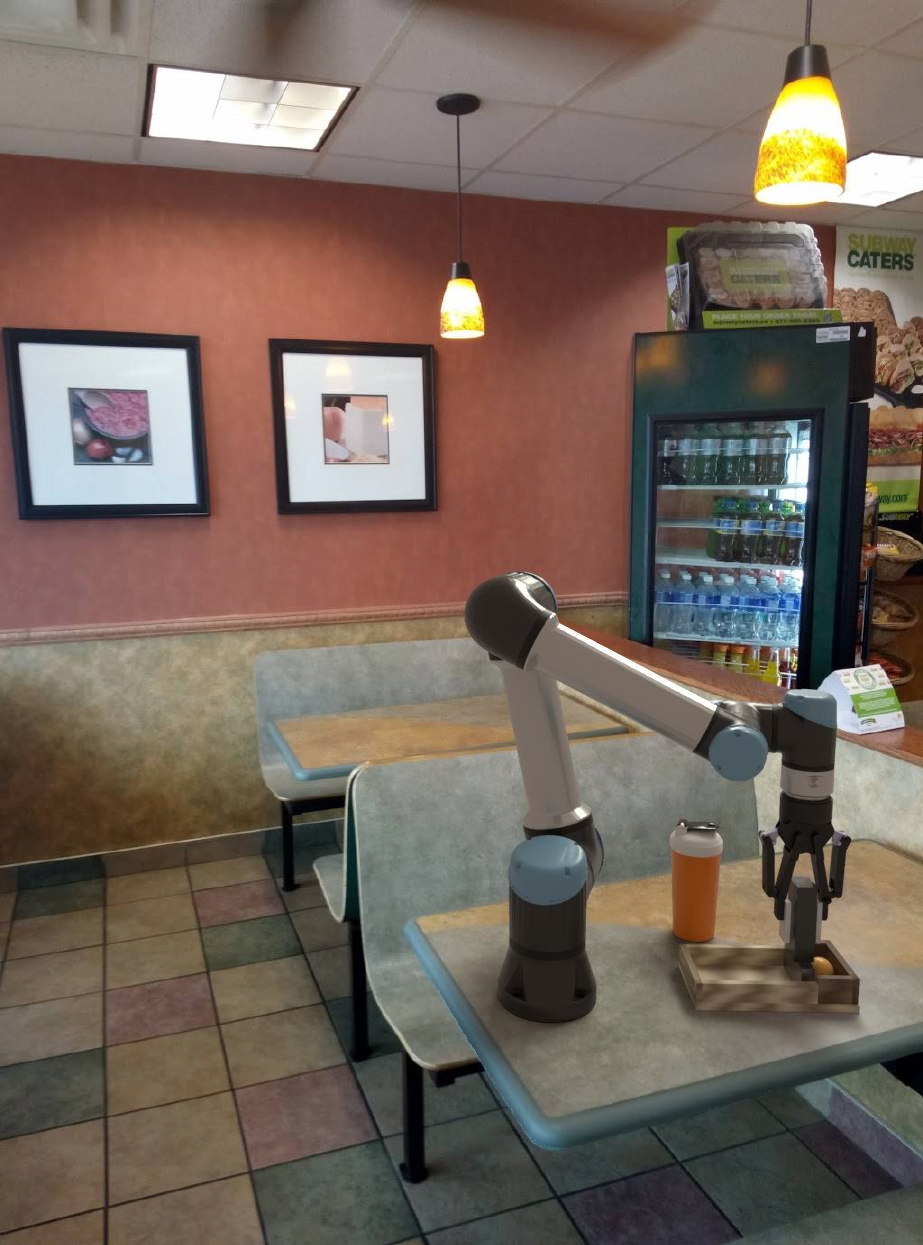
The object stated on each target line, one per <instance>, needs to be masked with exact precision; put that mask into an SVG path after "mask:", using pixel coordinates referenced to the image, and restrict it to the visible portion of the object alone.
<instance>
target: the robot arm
mask: <svg viewBox="0 0 923 1245" xmlns="http://www.w3.org/2000/svg"><path fill="white" fill-rule="evenodd" d="M463 616H464V623H465V627H466V630H467V632H468V634H469V636H470V638H471V639H472V640H473V641H474V642H475V644H476V645H478V646H479V647H481V648H482V649H483V650H485V651H486V652H487V653H488V658H489V661H490V663H491V664H493V665H494V666H495V667H497V668H499V670H500V671H501V677H502V681H503V686H504V692H505V696H506V700H507V706H508V711H509V715H510V717H509V718H510V722H511V726H512V731H513V732H512V733H513V738H514V741H515V746H516V751H517V757H518V761H519V767H520V772H521V778H522V781H523V786H524V787H523V788H524V792H525V796H526V802H527V806H528V810H527V812H526V813H525V815H523V817H522V820H521V823H522V828H523V834H524V838H525V839H524V840H523V841H521V842H519V844H518V845H516V846H515V848H514V849H513V850H512V852H511V855H510V858H509V865H508V870H507V873H508V875H507V876H508V879H507V880H508V883H509V884H508V899H509V900H508V903H509V904H508V905H509V906H508V920H509V921H508V922H509V923H508V931H509V932H508V948H507V950H506V953H505V957H504V959H503V962H502V965H501V968H500V972H499V973H498V978H497V997H498V1000H499V1002H500V1005H502V1006H503V1007H504V1008H505V1009H506V1010H508V1011H509V1012H510V1013H512V1014H513V1015H516V1016H518V1017H521V1018H523V1019H526V1020H529V1021H534V1022H542V1023H560V1022H568V1021H572V1020H575V1019H578V1018H580V1017H582V1016H585V1015H586V1014H588V1013H589V1012H590V1011H591V1010H592V1009H593V1008H594V1007H595V1005H596V1002H597V988H598V987H597V979H596V977H595V975H594V970H593V968H592V965H591V961H590V958H589V955H588V953H587V947H586V945H587V944H586V939H587V938H586V936H587V907H588V906H587V904H588V900H589V897H590V895H591V892H592V891H593V888H594V885H595V884H596V881H597V880H598V876H599V875H600V873H601V871H602V868H603V866H604V860H605V843H604V839H603V836H602V834H601V832H600V830H599V828H598V826H597V825H596V824H595V823H594V818H593V817H594V816H593V812H592V809H591V807H590V806H589V805H588V804H586V803H585V802H583V801H582V800H581V799H580V794H579V788H578V783H577V779H576V774H575V768H574V763H573V758H572V753H571V747H570V742H569V738H568V733H567V732H568V731H567V727H566V724H565V723H566V722H565V716H564V711H563V706H562V702H561V696H560V691H559V687H558V682H560V683H561V684H563V685H565V686H567V687H569V688H570V689H572V690H574V691H576V692H578V693H580V694H582V695H584V696H586V697H587V698H588V699H589V698H590V699H592V700H593V701H595V702H597V703H599V704H601V705H603V706H604V707H607V708H608V709H610V710H612V711H614V712H615V713H618V714H620V715H621V716H623V717H625V718H627V719H629V720H631V721H633V722H635V723H636V724H639V725H640V726H642V727H644V728H646V729H648V730H649V731H652V732H653V733H656V734H657V735H659V736H661V737H663V738H665V739H667V740H669V741H671V742H672V743H674V744H676V745H678V746H680V747H681V748H684V749H686V750H687V751H689V752H691V753H693V754H695V755H697V756H698V757H700V758H702V759H704V760H705V761H708V762H709V763H710V764H711V766H712V767H713V769H714V770H715V771H716V772H717V773H718V774H719V775H720V776H721V777H722V778H723V779H726V780H728V781H731V782H735V783H736V782H739V783H741V782H747V781H750V780H753V779H755V778H756V777H757V776H758V775H760V773H762V771H763V770H764V769H765V765H766V762H767V759H768V755H769V753H772V754H776V753H778V754H781V764H780V766H781V768H780V783H779V787H780V789H781V791H780V793H779V805H778V806H779V809H778V812H779V813H778V820H777V822H776V824H775V827H774V828H772V829H770V830H766V831H765V830H763V829H760V830H759V831H758V837H759V840H760V843H761V888H762V890H763V892H764V893H765V895H766V896H767V897H768V898H773V899H774V900H773V914H774V918H776V920H777V921H779V924H778V929H779V930H778V935H779V937H780V938H781V940H782V941H783V943H784V944H785V943H790V921H791V902H790V900H789V899H788V891H789V887H790V883H791V879H792V876H793V877H794V872H795V868H796V863H797V861H798V860H799V858H800V856H801V855H803V854H809V856H810V862H811V867H812V873H813V879H814V884H815V885H816V886H817V887H818V893H817V912H816V932H815V943H818V944H821V940H822V921H824V922H827V920H828V918H829V905H830V904H832V902H833V899H840V898H842V896H843V890H844V880H845V871H846V870H845V869H846V859H847V858H846V857H847V851H848V850H849V847H850V844H851V843H852V837H851V836H850V835H848V834H847V833H846V832H845V831H844V830H838V829H835V828H834V825H833V822H832V820H833V810H834V809H833V808H834V807H833V805H834V798H833V796H832V795H833V793H834V786H835V764H836V750H837V732H838V726H839V725H838V701H837V699H836V698H835V697H834V695H833V694H831V693H830V692H826V691H824V690H818V689H808V688H801V689H790V690H787V691H786V692H785V693H784V695H783V699H782V702H760V701H759V702H758V701H747V700H743V701H742V700H733V699H732V700H731V699H728V698H724V699H706V698H704V697H703V696H700V695H698V694H696V693H694V692H692V691H691V690H688V689H687V688H684V687H682V685H679V684H677V683H675V682H674V681H671V680H670V679H667V678H665V677H664V676H662V675H659V673H655V672H654V671H652V670H650V669H648V668H646V667H645V666H642V665H640V664H639V663H637V662H634V661H633V660H631V659H629V658H627V657H625V656H623V655H621V654H619V653H617V652H615V651H613V650H611V649H610V648H608V647H606V646H604V645H601V644H600V643H597V641H594V640H593V639H590V638H588V637H587V636H584V635H582V634H581V633H578V632H577V631H575V630H573V629H571V628H569V627H567V626H565V625H563V624H561V623H560V621H559V620H560V619H559V617H558V600H557V597H556V594H555V591H554V590H553V588H552V587H551V585H550V584H549V583H548V582H547V581H546V580H545V579H543V578H542V577H541V576H538V575H536V574H535V573H531V572H526V571H522V570H521V571H520V570H519V571H510V572H507V573H503V574H501V575H499V576H494V577H492V578H488V579H486V580H484V581H482V582H480V583H479V584H478V585H477V586H476V587H474V588H473V589H472V591H471V592H470V594H469V596H468V598H467V599H466V603H465V606H464V613H463ZM777 838H780V840H781V841H782V842H783V843H784V844H783V848H782V851H783V852H782V853H783V854H782V857H781V860H780V861H781V862H780V864H779V865H780V866H779V870H778V872H777V876H776V860H775V859H776V850H775V846H776V845H777V842H778V841H777ZM830 840H831V842H832V846H831V856H830V867H829V877H827V871H826V865H825V854H824V853H825V852H824V847H825V846H826V844H828V842H829V841H830ZM775 878H776V879H775Z"/></svg>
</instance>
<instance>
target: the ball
mask: <svg viewBox="0 0 923 1245" xmlns="http://www.w3.org/2000/svg"><path fill="white" fill-rule="evenodd" d="M811 964H812V965H813V967H814V968H815V981H816V975H834V970H833V967H832V965H831V963H830V962H829V961H828V960H826V959H824V958H822V957H814V963H813V962H811Z"/></svg>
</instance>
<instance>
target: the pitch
mask: <svg viewBox="0 0 923 1245" xmlns="http://www.w3.org/2000/svg"><path fill="white" fill-rule="evenodd" d="M784 946H785V944H783V945H781V944H777V945H776V944H766V945H765V944H714V943H713V944H712V943H711V944H705V943H704V944H703V943H702V944H701V943H700V944H699V943H698V944H697V943H694V944H692V943H691V944H690V943H681V944H679V949H678V954H679V955H678V960H677V966H678V968H679V971H680V973H681V976H682V979H683V981H684V983H685V987H686V989H687V991H688V994H689V995H690V998H691V1001H692V1003H693V1006H694V1009H695V1011H718V1012H719V1011H721V1012H723V1011H724V1012H726V1011H727V1012H731V1011H732V1012H782V1013H783V1012H791V1013H792V1012H793V1013H795V1012H797V1013H802V1012H803V1013H804V1012H805V1013H845V1014H846V1013H848V1014H849V1013H853V1014H854V1013H857V1014H858V1013H859V1014H860V1010H861V1009H860V1008H861V1006H860V1005H859V999H860V985H861V984H860V982H861V979H860V978H859V976H858V975H857V973H856V972H855V971H854V970H853V969H852V967H851V965H850V964H849V963H848V962H847V960H846V959H845V958H844V956H842V954H841V953H840V952H839V950H838V949H837V948H836V946H835V945H834V943H833V942H831V940H830V939H821V944H818V943H815V951H814V957H822V958H824V959H826V960H828V961H829V962H830V963H831V965H832V967H833V970H834V975H816V981H792V979H791V978H790V976H789V975H788V973H787V972H786V970H785V968H784Z"/></svg>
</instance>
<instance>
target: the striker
mask: <svg viewBox="0 0 923 1245" xmlns="http://www.w3.org/2000/svg"><path fill="white" fill-rule="evenodd" d="M817 893H818V887H817V886H816V885H815V882H814V881H813V880H812V879H811V878H810V877H809V876H794V875H793V876H792V879H791V883H790V887H789V891H788V895H787V898H788V899H789V900H790V902H791V921H790V943H784V945H785V946H784V968H785V970H786V972H787V973H788V975H789V976H790V978H791V979H792V981H815V968H814V967H813V965H812V964H811V962H813V963H814V951H815V932H816V912H817V896H818V894H817Z"/></svg>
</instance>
